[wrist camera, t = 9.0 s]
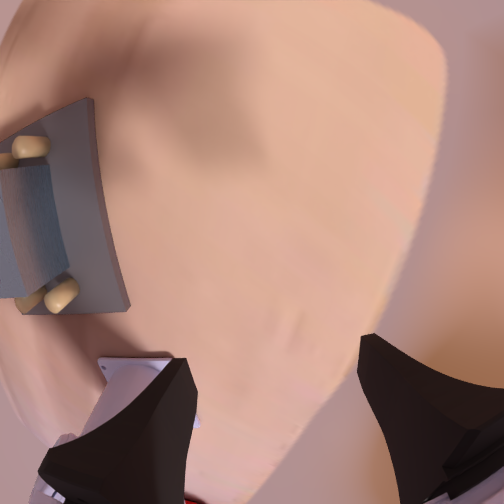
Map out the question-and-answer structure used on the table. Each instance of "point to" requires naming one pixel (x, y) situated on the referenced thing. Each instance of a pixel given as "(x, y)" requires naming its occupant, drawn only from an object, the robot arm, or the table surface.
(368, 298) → the table surface
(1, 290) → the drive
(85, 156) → the grey pegged base plate
